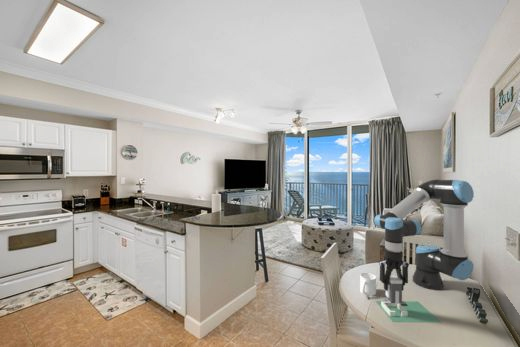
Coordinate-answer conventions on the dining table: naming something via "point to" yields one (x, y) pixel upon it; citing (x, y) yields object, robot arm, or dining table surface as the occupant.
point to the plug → (395, 289)
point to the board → (410, 312)
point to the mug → (367, 284)
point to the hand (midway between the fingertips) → (393, 296)
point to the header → (389, 304)
